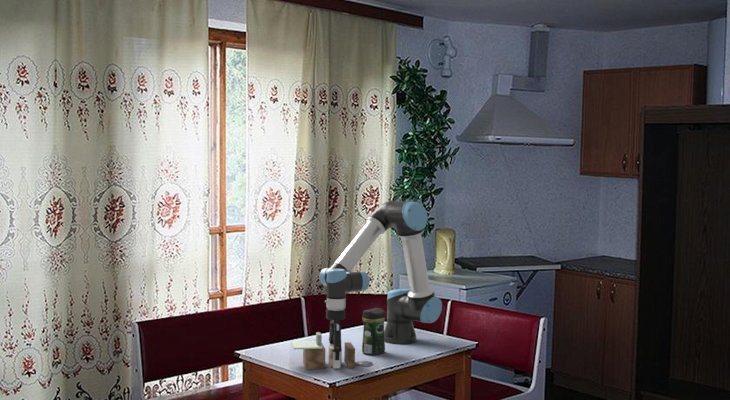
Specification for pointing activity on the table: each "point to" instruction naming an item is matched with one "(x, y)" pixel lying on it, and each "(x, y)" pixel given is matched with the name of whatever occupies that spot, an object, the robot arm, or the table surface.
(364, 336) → the coffee jar
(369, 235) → the robot arm
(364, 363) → the grey round disc
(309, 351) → the brown and beige stand
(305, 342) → the cover
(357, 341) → the table surface
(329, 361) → the block
